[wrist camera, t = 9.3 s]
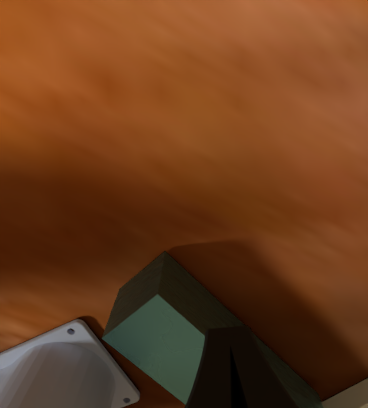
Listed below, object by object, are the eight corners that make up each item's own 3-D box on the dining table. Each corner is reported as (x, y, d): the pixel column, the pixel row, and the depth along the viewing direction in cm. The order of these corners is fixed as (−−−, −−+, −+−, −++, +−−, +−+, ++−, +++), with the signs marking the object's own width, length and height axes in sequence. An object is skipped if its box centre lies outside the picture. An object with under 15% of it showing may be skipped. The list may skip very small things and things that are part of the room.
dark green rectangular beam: (317, 392, 23) (345, 464, 19) (272, 418, 24) (289, 491, 20) (165, 249, 19) (156, 298, 15) (119, 287, 20) (100, 342, 16)
